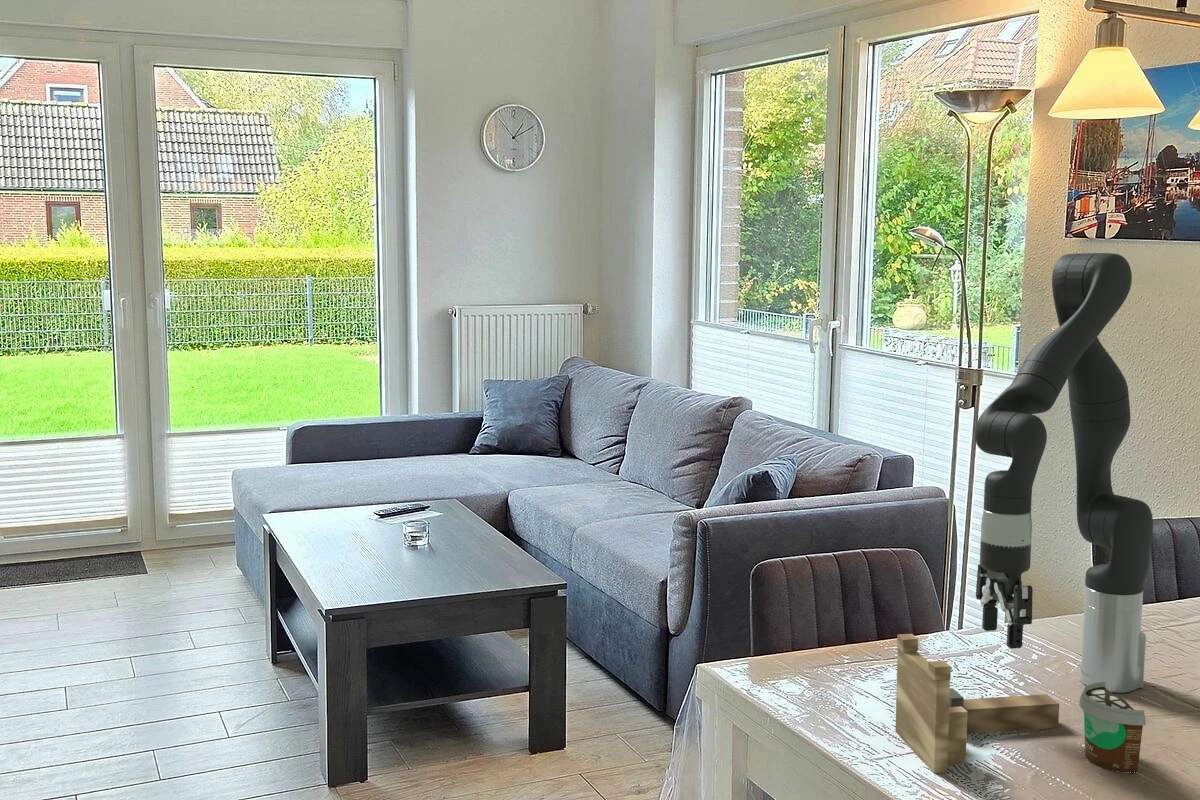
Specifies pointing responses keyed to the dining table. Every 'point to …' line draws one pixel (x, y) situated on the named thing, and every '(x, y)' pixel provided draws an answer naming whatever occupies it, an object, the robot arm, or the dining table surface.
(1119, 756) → the food container
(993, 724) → the rail
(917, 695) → the wooden post stand
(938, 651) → the dining table surface
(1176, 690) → the dining table surface
